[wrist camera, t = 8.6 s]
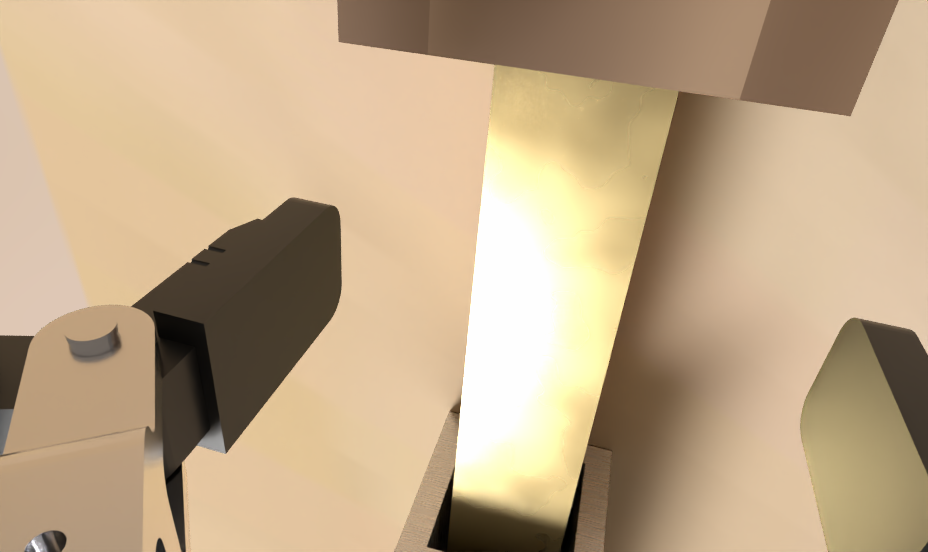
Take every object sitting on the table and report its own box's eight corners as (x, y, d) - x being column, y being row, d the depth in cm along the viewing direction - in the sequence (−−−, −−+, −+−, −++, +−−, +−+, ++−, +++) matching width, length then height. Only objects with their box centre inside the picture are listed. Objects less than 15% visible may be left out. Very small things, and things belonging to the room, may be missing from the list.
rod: (731, -169, 14) (752, -182, 11) (561, 512, 27) (547, 601, 24) (549, -183, 15) (517, -199, 12) (469, 488, 28) (443, 571, 25)
